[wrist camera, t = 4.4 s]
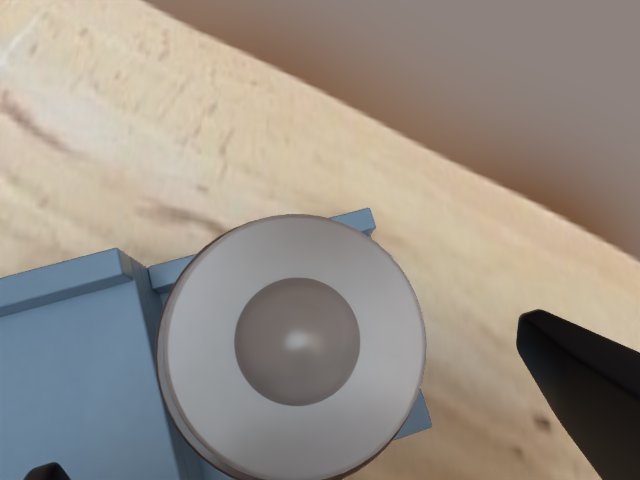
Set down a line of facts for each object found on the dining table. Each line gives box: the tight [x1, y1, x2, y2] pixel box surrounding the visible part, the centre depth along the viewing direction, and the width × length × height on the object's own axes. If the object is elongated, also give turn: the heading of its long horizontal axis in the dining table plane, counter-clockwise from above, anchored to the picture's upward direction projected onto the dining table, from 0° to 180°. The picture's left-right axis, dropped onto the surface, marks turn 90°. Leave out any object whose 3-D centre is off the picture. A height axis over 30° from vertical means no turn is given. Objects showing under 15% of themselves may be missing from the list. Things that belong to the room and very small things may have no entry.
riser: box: [0, 208, 432, 480], centre depth 16 cm, size 8×17×5 cm, turn 107°
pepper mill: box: [155, 214, 426, 480], centre depth 12 cm, size 5×5×13 cm
